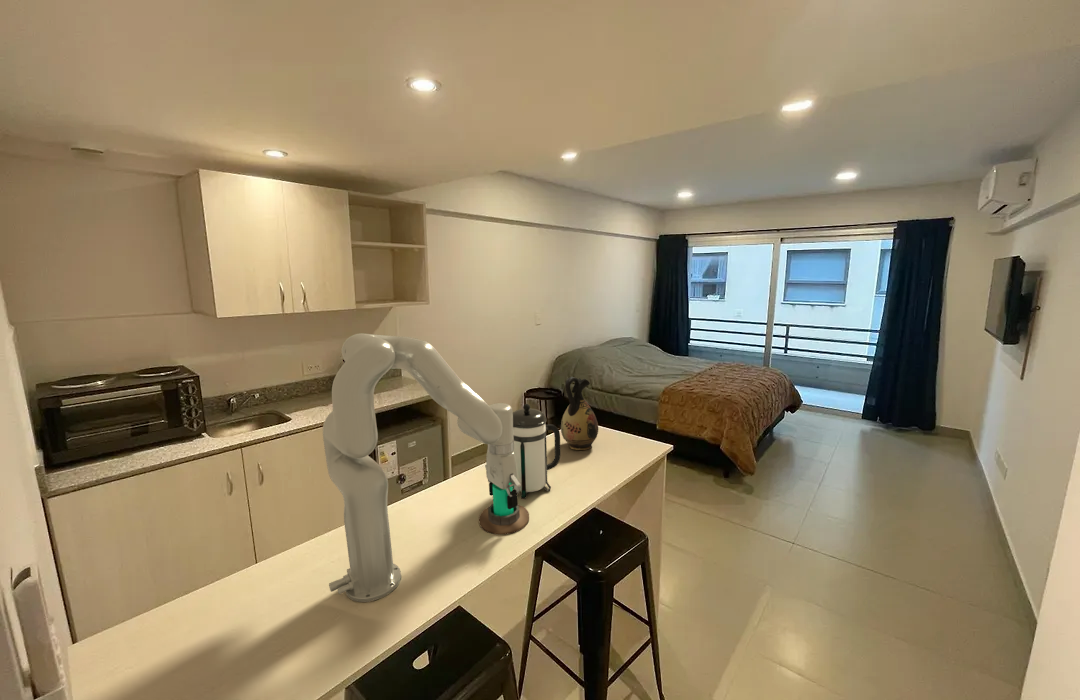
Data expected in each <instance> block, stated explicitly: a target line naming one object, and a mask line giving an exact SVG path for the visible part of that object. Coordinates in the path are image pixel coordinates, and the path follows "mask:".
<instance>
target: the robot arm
mask: <svg viewBox="0 0 1080 700" xmlns="http://www.w3.org/2000/svg"><path fill="white" fill-rule="evenodd" d="M341 355H342V359H343V360H344V362H343V364H342V365H341V367H340V368H339V370H338V371H337V372H336V375H335V376H334V379H333V382H332V385H331V386H332V387H331V403H332V411H331V412H330V413H329V414H328V415H327V416H326V418H325V419H324V422H323V426H322V440H323V446H324V449H323V450H324V454H325V455H324V456H325V462H326V468H327V472H328V473H327V474H328V475H329V478H330V479H331V482H332V483H333V484H334V486H335V487H337V489H338V491H339V492H340V493H341V495H342V498H343V504H344V505H343V506H344V507H343V524H344V531H345V538H346V547H347V553H348V562H349V568H347V569H346V573H347V574H345V575H343V576H342V578H339V579H336V580H334V581H331V582H329V583H328V586H329V591H330V593H332V592H334V591H337V592H338V593H337V594H338V595H341V594H343V593H345V595H346V596H347V598H349V599H350V600H352V601H354V602H358V603H359V602H360V603H368V602H373V601H377V600H379V599H382V598H384V597H386V596H387V595H389V594H391V592H393V591H394V590H395V589H396V588H397V587H398V585H399V584H400V582H401V580H402V573H401V569H400V567H399V566H398V565H397V564H395V563H394V560H393V559H394V558H393V551H392V550H393V549H392V540H391V532H390V531H391V530H390V528H391V527H390V519H389V510H388V494H389V493H388V492H389V481H388V476H387V474H386V472H385V470H384V469H383V468H382V466H381V465H380V464H379V463H378V462H376V460H374V459H373V458H372V457H371V456H369V455H371V453H372V452H373V451H374V450H375V448H376V447H377V444H378V441H379V440H378V439H379V438H378V437H379V434H378V427H377V418H376V409H375V396H374V394H375V388H376V386H377V384H378V383H379V381H380V380H381V378H383V377H384V376H385V374H386V373H388V372H389V371H390V369H391V370H392V369H393V370H395V369H396V370H397V369H399V370H400V369H401V370H403V371H406V372H407V373H409V374H410V376H411V377H412V378H413V379H414V380H415V381H416V382H417V383H418V384H419V385H420V386H421V388H423V390H424V391H425V392H426V393H427V394H428V395H429V397H430V398H431V399H432V400H433V401H434V402H436V404H438V405H439V406H441V407H442V408H443V409H445V410H447V411H448V412H450V413H451V414H453V415H454V416H456V417H457V421H456V422H457V423H456V424H457V425H456V426H457V427H458V429H459V430H460V431H461V432H462V433H463V434H465V435H466V436H469V437H470V438H472V439H475V440H476V441H478V442H480V443H483V444H485V445H487V451H486V460H485V466H484V467H485V471H486V479H487V482H488V489H489V496H492V497H493V484H495V485H496V486H498V487H499V488H501V489H503V490H504V489H506V491H507V493H508V495H509V496H507V506H508V509H511V508H514V507H516V506H517V505H519V501H518V495H519V493H520V492H521V491H520V488H521V484H520V483H519V481H518V480H517V471H516V462H515V456H514V436H513V412H514V411H513V407H512V406H511V405H510V404H508V403H503V402H498V403H493V404H490V405H489V404H488V403H487V402H486V401H485V400H484V399H483V398H482V397H481V396H480V395H479V394H478V393H477V392H476V391H474V390H473V389H472V388H471V387H470V386H469V385H468V384H466V382H464V381H463V380H462V379H461V378H460V377H459V376H458V374H457V373H456V371H454V369H453V368H452V367H451V366H450V365H449V364H448V362H447V361H446V360H445V358H443V356H442V355H441V354H440V352H438V350H437V349H436V348H435V347H434V346H433V345H432V344H431V343H429V342H428V341H426V340H423V339H418V338H414V337H411V336H399V335H398V336H397V335H387V334H386V335H385V334H384V335H383V334H374V333H373V334H372V333H354V334H353V335H350V336H349V337H347V338H346V340H344V342H343V344H342V346H341ZM509 483H511V484H510V485H509ZM510 487H513V490H512V491H510Z"/></svg>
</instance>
